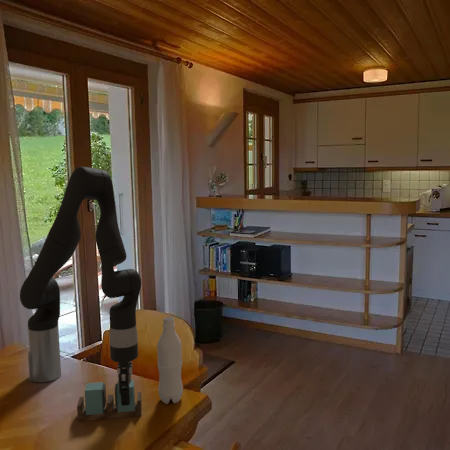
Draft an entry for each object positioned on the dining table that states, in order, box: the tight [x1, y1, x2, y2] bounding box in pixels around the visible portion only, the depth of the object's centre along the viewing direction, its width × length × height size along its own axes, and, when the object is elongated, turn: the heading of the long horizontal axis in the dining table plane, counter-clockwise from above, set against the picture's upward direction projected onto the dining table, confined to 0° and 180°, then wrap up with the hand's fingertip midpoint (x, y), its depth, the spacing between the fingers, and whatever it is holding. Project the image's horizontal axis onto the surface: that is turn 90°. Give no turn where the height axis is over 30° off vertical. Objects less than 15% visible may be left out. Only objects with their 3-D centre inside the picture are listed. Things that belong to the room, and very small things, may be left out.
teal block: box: [114, 379, 136, 412], centre depth 132 cm, size 5×4×7 cm
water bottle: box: [156, 316, 184, 405], centre depth 138 cm, size 7×7×25 cm
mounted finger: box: [84, 381, 107, 415], centre depth 131 cm, size 5×4×7 cm
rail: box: [76, 391, 143, 422], centre depth 132 cm, size 17×5×4 cm, turn 99°
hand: (126, 399), depth 133 cm, fingers open, 5 cm apart
